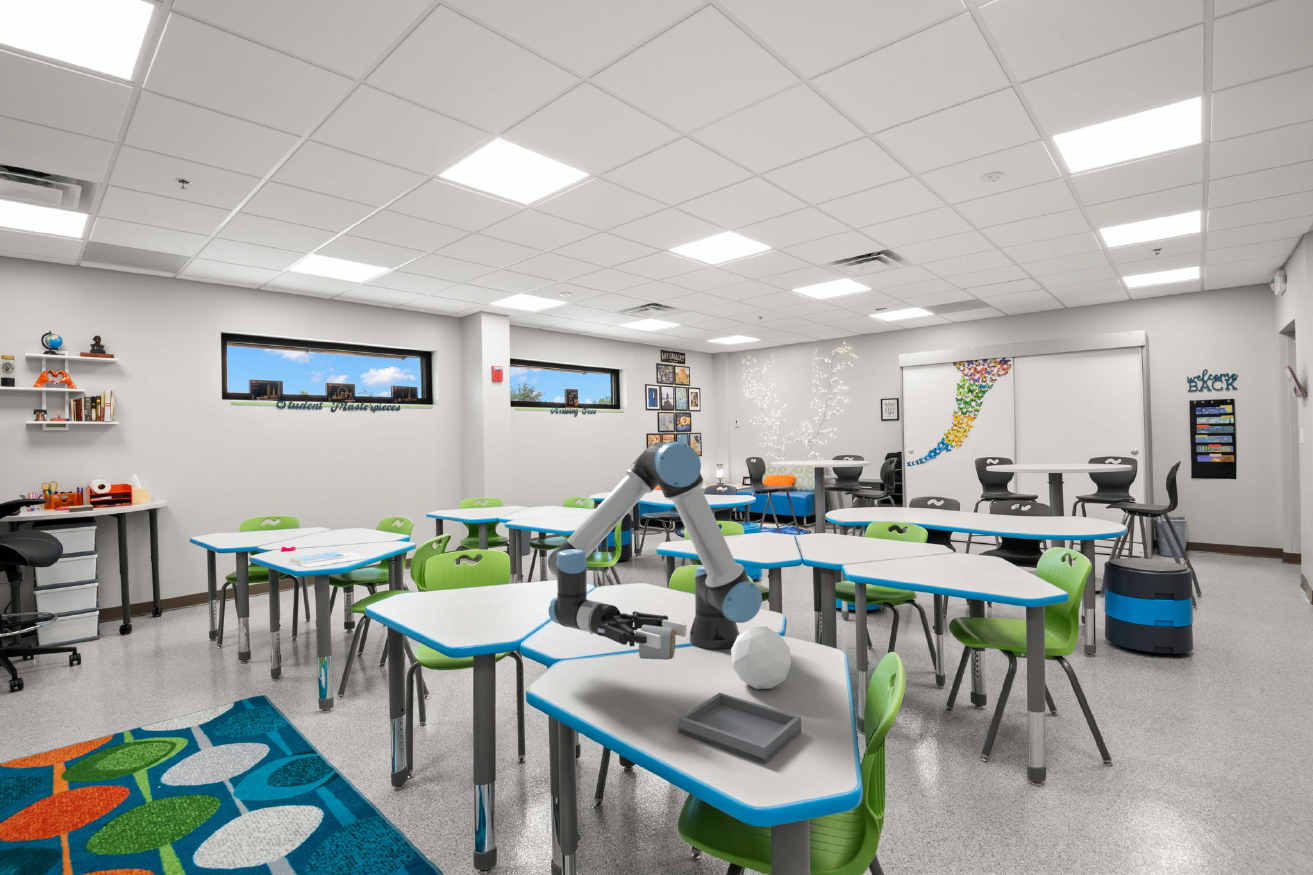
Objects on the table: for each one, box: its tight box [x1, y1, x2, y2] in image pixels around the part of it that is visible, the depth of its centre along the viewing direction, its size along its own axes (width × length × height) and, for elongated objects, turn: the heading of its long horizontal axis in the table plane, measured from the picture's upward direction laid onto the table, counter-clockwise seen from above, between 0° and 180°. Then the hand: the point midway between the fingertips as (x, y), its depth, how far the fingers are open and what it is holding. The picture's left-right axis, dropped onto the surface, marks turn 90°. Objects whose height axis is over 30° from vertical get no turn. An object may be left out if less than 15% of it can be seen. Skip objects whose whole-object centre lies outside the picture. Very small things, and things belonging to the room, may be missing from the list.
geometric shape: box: [730, 626, 792, 690], centre depth 149 cm, size 14×15×15 cm
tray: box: [677, 692, 802, 765], centre depth 125 cm, size 16×20×3 cm
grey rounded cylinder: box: [638, 625, 677, 661], centre depth 139 cm, size 10×8×7 cm
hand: (672, 636), depth 135 cm, fingers closed on grey rounded cylinder, 9 cm apart
